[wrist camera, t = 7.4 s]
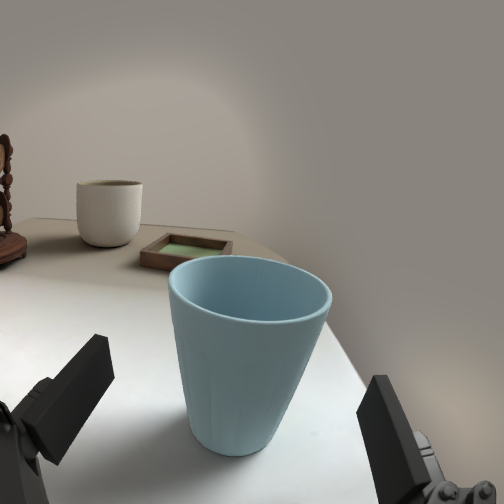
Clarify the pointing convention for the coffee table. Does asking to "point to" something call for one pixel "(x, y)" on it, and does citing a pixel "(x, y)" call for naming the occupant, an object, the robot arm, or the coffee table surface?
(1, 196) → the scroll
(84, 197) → the planter
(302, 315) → the cup
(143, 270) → the coffee table surface
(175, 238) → the wooden serving tray
